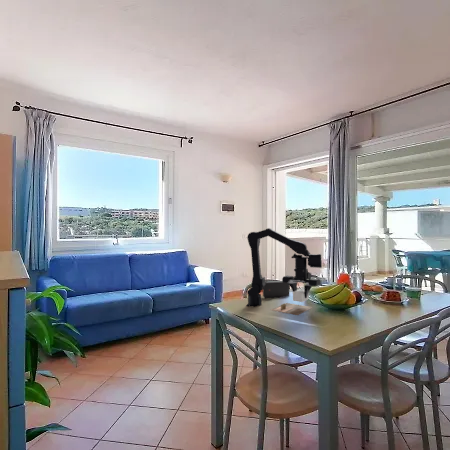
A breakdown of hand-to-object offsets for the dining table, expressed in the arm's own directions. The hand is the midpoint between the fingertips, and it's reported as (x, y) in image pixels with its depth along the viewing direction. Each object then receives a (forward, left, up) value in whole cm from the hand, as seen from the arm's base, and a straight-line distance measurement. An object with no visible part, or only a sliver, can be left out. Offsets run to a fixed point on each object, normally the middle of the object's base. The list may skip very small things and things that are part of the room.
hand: (300, 297), depth 162 cm
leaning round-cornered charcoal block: (-23, +16, -6) cm, 29 cm away
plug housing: (0, +1, -1) cm, 2 cm away
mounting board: (-3, -4, -6) cm, 8 cm away
